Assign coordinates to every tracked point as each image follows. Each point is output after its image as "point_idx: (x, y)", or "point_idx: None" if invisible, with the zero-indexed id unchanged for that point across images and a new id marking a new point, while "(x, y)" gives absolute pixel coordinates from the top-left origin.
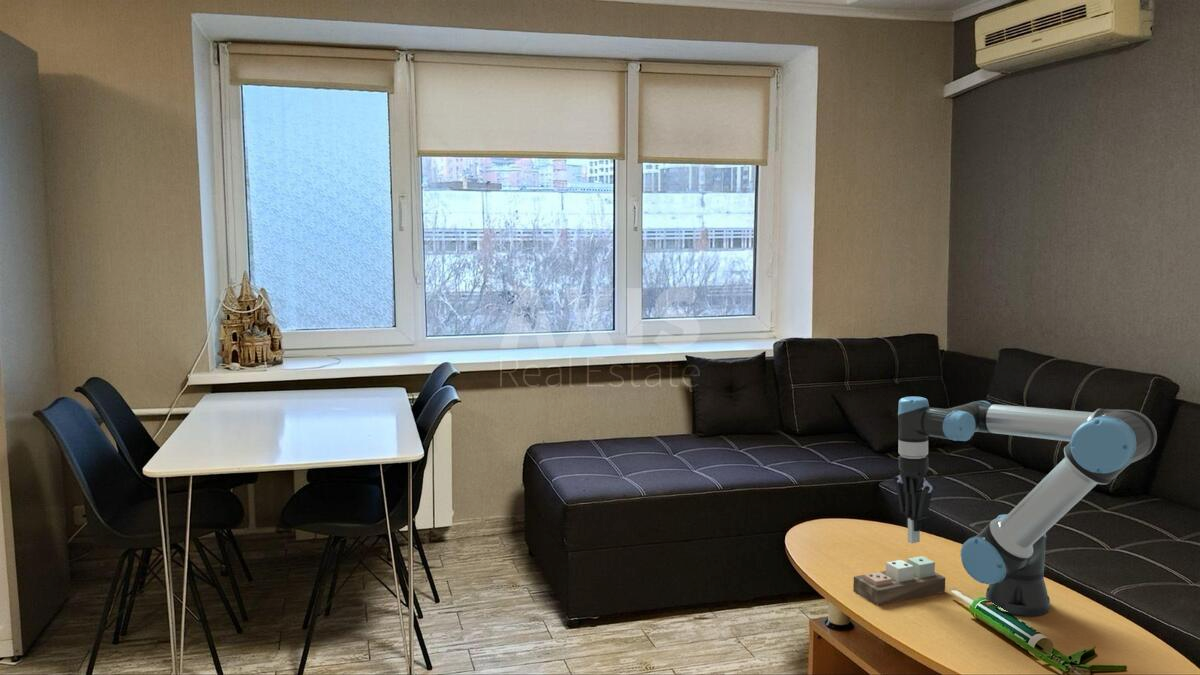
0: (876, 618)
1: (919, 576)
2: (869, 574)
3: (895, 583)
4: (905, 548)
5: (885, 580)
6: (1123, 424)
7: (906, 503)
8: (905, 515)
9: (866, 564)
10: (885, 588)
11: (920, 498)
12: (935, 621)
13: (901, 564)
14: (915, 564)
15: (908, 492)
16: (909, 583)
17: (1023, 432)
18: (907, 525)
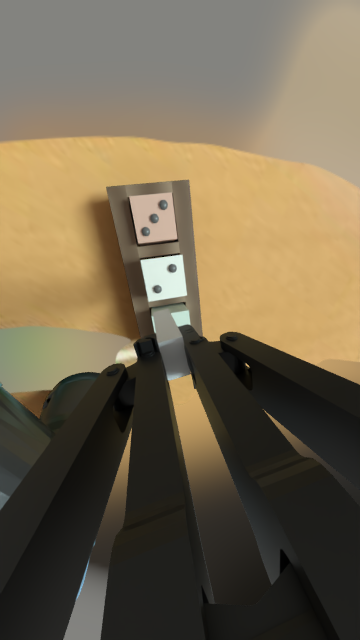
0: (55, 159)
1: (151, 310)
2: (167, 203)
3: (135, 250)
4: None
5: (135, 225)
6: None
7: (220, 377)
8: (200, 337)
9: (269, 282)
10: (114, 213)
11: (29, 537)
12: (37, 268)
13: (162, 281)
14: None
15: (255, 492)
16: (130, 278)
17: None
18: (188, 328)
